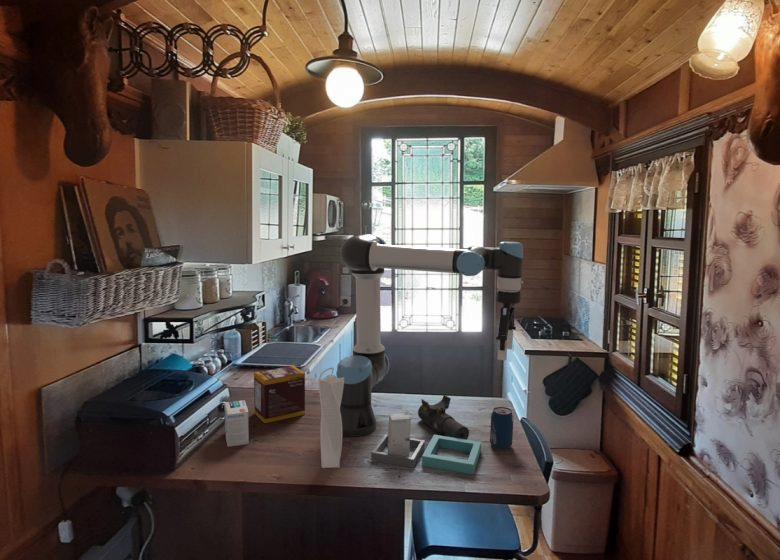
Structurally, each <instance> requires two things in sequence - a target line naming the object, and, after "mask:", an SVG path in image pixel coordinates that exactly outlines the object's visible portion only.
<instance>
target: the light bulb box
mask: <svg viewBox="0 0 780 560" xmlns="http://www.w3.org/2000/svg"><path fill="white" fill-rule="evenodd" d="M246 403H247V402H246V400H243V399H242V400H235V401H227V402H223V404H224V435H225V440H226V445H227V447H228V448H229V447H235V446H236V447H237V446H244V445H248V444H249V443H250V442H249V439H250V438H249V409H248V405H247V404H246Z"/></svg>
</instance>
